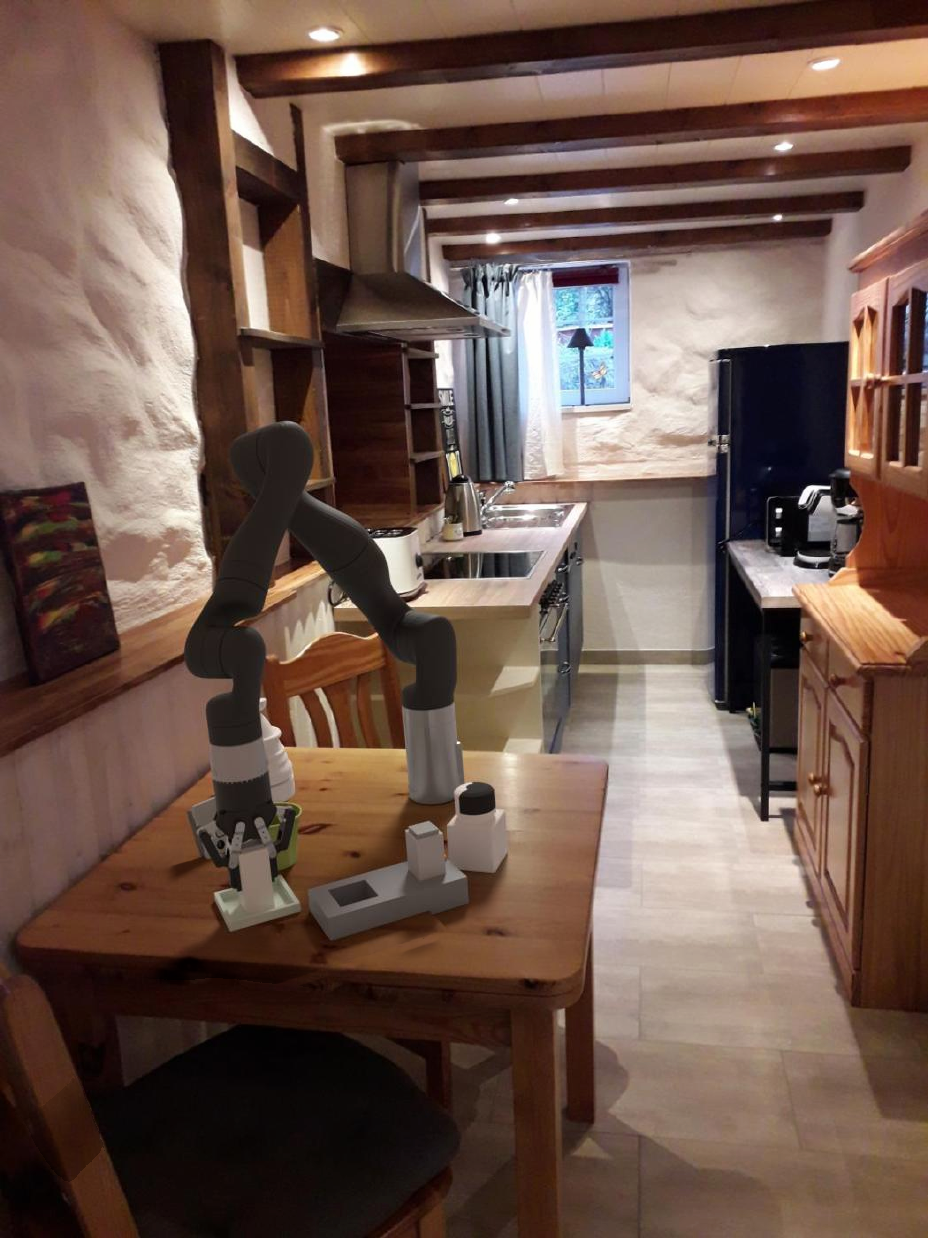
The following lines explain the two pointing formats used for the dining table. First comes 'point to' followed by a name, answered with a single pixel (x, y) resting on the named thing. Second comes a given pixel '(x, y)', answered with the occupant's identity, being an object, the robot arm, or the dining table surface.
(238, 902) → the tray
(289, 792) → the honey pot
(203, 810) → the electrical switch
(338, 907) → the grey peg socket block
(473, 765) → the dining table surface
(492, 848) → the medicine bottle
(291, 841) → the plant pot
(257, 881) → the plug
